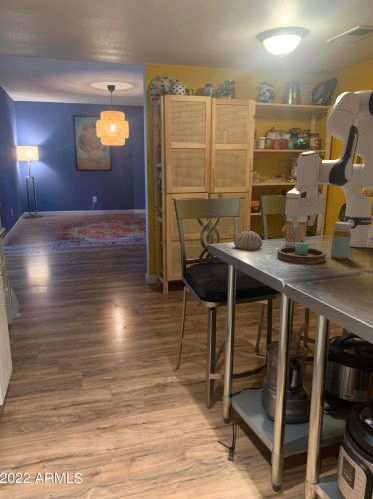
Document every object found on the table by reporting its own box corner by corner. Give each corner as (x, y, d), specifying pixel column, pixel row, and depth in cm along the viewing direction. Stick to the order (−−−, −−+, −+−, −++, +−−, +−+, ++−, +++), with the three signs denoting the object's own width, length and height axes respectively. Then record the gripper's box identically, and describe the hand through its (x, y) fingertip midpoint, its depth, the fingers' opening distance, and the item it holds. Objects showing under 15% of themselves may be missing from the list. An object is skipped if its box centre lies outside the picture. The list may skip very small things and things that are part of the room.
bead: (299, 254, 163) (300, 241, 162) (310, 256, 159) (311, 243, 158) (292, 255, 160) (292, 242, 159) (302, 258, 156) (303, 245, 155)
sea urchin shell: (264, 251, 172) (265, 233, 170) (234, 250, 173) (234, 233, 171) (260, 245, 185) (261, 229, 183) (232, 244, 186) (233, 228, 184)
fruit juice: (292, 248, 179) (296, 187, 173) (281, 244, 188) (285, 186, 182) (309, 246, 182) (314, 187, 176) (297, 243, 191) (301, 186, 185)
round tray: (296, 251, 173) (297, 245, 172) (334, 259, 158) (334, 253, 157) (268, 256, 162) (268, 250, 161) (305, 266, 147) (306, 259, 146)
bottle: (347, 260, 156) (351, 224, 153) (329, 258, 160) (332, 223, 156) (349, 257, 162) (353, 222, 159) (331, 255, 166) (335, 221, 162)
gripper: (315, 191, 163) (312, 223, 166) (283, 193, 151) (281, 227, 154) (328, 192, 158) (325, 225, 161) (296, 194, 146) (294, 230, 149)
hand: (303, 226), depth 157 cm, fingers open, 8 cm apart
